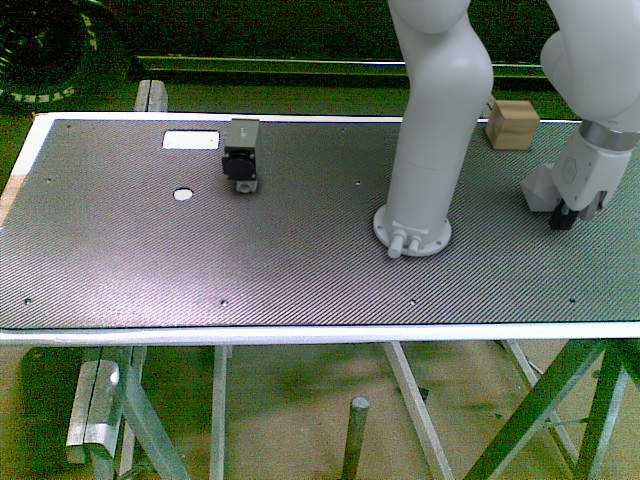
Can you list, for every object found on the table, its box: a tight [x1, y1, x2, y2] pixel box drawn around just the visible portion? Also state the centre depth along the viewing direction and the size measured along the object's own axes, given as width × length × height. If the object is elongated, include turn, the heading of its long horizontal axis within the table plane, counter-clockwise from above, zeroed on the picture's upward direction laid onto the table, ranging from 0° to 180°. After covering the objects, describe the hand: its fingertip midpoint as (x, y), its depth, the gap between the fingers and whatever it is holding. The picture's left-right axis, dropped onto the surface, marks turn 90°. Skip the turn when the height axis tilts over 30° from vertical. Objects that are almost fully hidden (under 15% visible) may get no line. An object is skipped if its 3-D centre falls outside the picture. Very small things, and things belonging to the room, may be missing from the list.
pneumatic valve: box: [220, 117, 262, 194], centre depth 80 cm, size 6×12×12 cm, turn 0°
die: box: [519, 162, 559, 212], centre depth 81 cm, size 8×9×10 cm
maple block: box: [484, 99, 541, 151], centre depth 96 cm, size 7×7×7 cm
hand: (558, 226), depth 78 cm, fingers closed
